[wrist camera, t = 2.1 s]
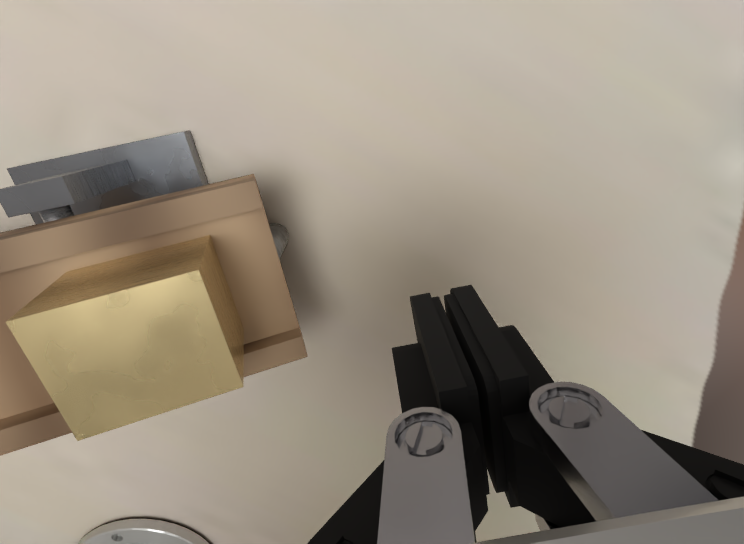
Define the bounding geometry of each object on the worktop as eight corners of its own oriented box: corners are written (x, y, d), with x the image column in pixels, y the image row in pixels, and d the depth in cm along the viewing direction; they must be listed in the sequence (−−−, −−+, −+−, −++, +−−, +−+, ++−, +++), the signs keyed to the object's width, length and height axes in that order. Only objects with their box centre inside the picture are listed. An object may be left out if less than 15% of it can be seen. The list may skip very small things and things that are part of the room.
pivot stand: (255, 116, 24) (222, 121, 17) (314, 328, 29) (306, 390, 23) (-95, 190, 24) (-251, 221, 18) (27, 385, 29) (-59, 463, 23)
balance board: (253, 174, 20) (255, 184, 16) (301, 334, 23) (311, 372, 20) (-323, 308, 16) (-491, 362, 12) (-163, 478, 19) (-258, 560, 16)
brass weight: (210, 234, 19) (198, 269, 14) (244, 329, 21) (243, 386, 16) (66, 271, 18) (5, 322, 13) (116, 367, 20) (77, 441, 15)
